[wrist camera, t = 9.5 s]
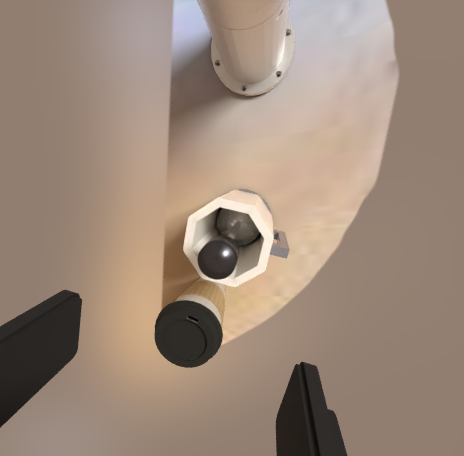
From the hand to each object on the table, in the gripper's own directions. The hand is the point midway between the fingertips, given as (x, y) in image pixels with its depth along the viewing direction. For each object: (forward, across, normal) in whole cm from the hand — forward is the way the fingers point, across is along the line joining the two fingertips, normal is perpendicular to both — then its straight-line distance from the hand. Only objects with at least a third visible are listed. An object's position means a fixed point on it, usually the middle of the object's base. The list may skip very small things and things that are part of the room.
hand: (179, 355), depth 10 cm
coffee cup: (+35, +4, +16) cm, 38 cm away
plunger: (+31, +1, +1) cm, 31 cm away
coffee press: (+35, +1, +1) cm, 35 cm away
